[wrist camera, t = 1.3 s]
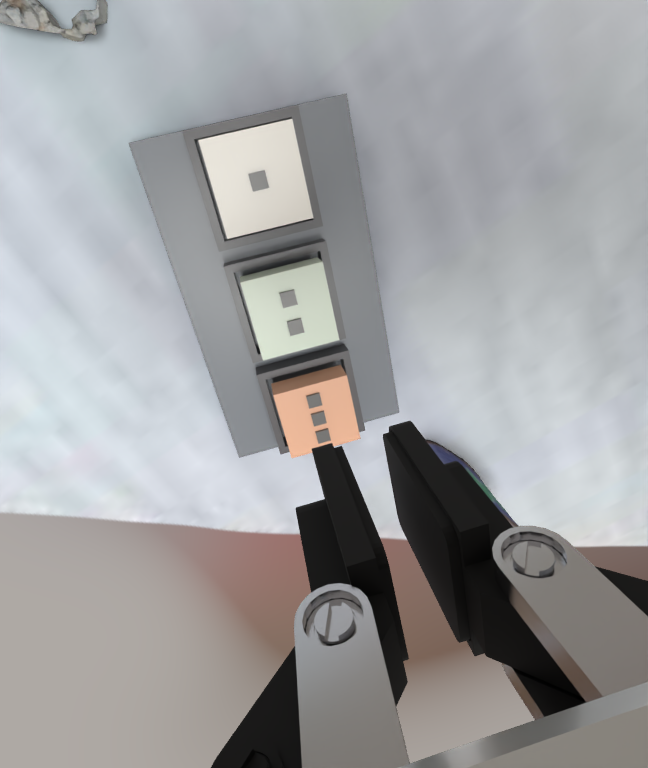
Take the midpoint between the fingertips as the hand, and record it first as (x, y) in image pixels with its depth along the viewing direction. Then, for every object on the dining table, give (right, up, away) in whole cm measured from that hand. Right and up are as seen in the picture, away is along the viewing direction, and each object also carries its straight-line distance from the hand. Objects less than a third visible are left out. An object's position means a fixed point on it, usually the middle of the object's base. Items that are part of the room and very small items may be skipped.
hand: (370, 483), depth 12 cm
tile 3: (-2, +1, +21) cm, 21 cm away
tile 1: (-5, +14, +15) cm, 21 cm away
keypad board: (-4, +9, +21) cm, 23 cm away
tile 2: (-4, +8, +18) cm, 20 cm away
